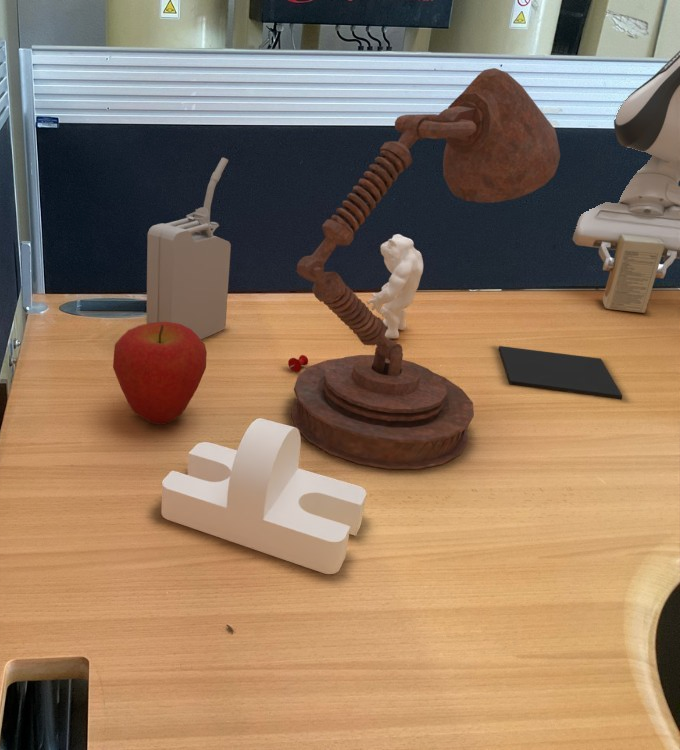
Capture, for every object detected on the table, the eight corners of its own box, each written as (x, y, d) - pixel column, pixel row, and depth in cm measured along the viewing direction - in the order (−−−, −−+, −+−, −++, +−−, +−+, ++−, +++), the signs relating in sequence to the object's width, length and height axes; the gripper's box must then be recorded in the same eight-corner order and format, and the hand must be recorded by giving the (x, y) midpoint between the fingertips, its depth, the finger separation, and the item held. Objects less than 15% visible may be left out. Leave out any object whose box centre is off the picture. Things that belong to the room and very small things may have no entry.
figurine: (400, 349, 112) (418, 251, 105) (357, 339, 115) (371, 243, 108) (418, 326, 120) (436, 233, 113) (377, 317, 123) (392, 226, 116)
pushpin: (292, 377, 102) (294, 364, 102) (280, 372, 104) (281, 359, 103) (309, 368, 105) (310, 355, 104) (296, 364, 106) (298, 351, 105)
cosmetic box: (640, 305, 132) (662, 236, 126) (645, 314, 128) (668, 243, 122) (599, 300, 133) (619, 232, 128) (603, 308, 130) (624, 239, 124)
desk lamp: (546, 429, 92) (649, 77, 74) (342, 499, 78) (408, 82, 60) (420, 361, 108) (479, 59, 90) (231, 408, 94) (257, 60, 76)
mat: (599, 361, 110) (600, 358, 110) (621, 398, 100) (622, 395, 100) (498, 348, 113) (499, 345, 113) (509, 383, 103) (510, 380, 103)
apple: (134, 389, 98) (135, 301, 92) (214, 405, 95) (219, 315, 89) (98, 430, 88) (96, 335, 83) (185, 449, 85) (189, 351, 80)
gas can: (211, 315, 121) (219, 155, 110) (235, 324, 118) (247, 160, 107) (144, 342, 111) (146, 169, 100) (169, 353, 108) (175, 175, 97)
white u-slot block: (335, 577, 67) (351, 481, 63) (157, 516, 74) (159, 426, 70) (363, 519, 75) (379, 430, 70) (199, 468, 82) (203, 384, 77)
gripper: (583, 184, 132) (569, 254, 128) (720, 199, 125) (709, 273, 121) (576, 204, 137) (562, 271, 134) (706, 220, 130) (696, 291, 127)
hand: (633, 272), depth 127 cm, fingers closed on cosmetic box, 6 cm apart
